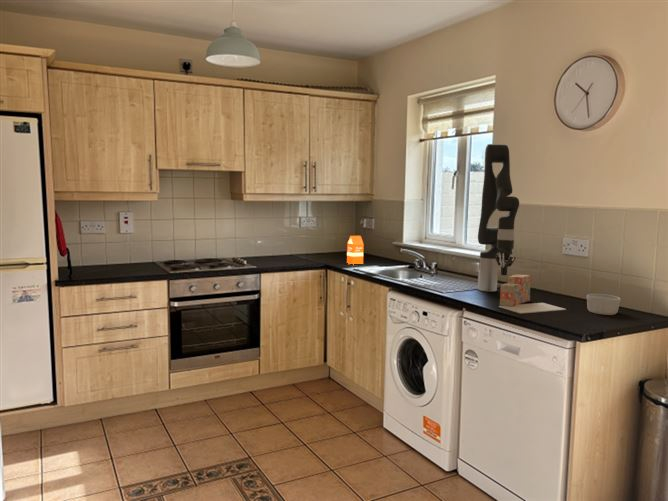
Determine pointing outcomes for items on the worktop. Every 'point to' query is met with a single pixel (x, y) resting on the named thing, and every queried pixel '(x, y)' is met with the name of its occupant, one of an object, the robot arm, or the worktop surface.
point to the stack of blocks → (515, 290)
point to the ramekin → (603, 304)
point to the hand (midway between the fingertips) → (503, 275)
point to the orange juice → (355, 250)
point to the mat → (532, 308)
